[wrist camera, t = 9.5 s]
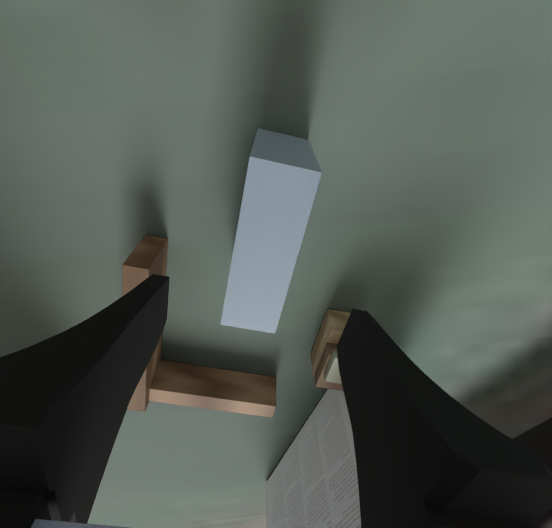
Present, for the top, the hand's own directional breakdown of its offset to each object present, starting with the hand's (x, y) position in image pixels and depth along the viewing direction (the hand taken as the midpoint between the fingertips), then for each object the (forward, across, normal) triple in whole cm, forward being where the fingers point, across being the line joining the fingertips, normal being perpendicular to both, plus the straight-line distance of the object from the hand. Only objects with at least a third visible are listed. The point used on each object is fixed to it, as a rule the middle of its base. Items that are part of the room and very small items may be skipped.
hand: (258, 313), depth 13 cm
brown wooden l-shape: (+10, +2, +10) cm, 15 cm away
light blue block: (+10, 0, 0) cm, 10 cm away
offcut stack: (+10, -8, +9) cm, 16 cm away
